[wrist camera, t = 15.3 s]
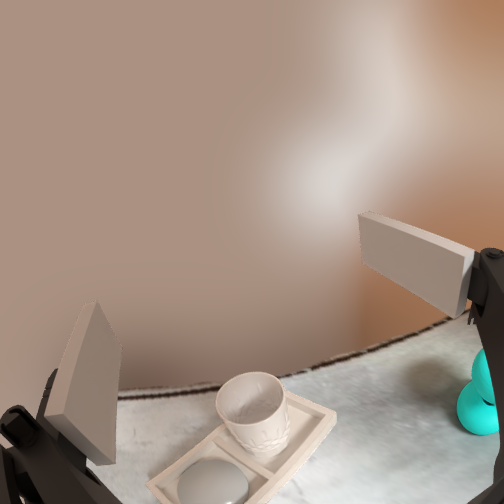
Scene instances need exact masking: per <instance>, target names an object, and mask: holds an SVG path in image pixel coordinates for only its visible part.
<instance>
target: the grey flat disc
mask: <svg viewBox="0 0 504 504" xmlns="http://www.w3.org/2000/svg"><path fill="white" fill-rule="evenodd" d="M177 494H178V498H179V500H180V502H181V504H244V503H245V502H246V501H247V499H248V496H249V483H248V480H247V478H246V476H245V475H244V473H243V472H242V471H241V470H240V469H239V468H238V467H237V466H236V465H234V464H232V463H230V462H227V461H224V460H206V461H202V462H199V463H196V464H194V465H193V466H191V467H190V468H188V469H187V470H186V471H185V472H184V473H183V475H182V476H181V478H180V480H179V482H178V486H177Z"/></svg>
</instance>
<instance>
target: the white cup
mask: <svg viewBox="0 0 504 504" xmlns="http://www.w3.org/2000/svg"><path fill="white" fill-rule="evenodd" d="M215 408H216V411H217V413H218V414H219V416H220V417H221V419H222V420H223V422H224V423H225V425H226V426H227V428H228V429H229V430H230V432H231V433H232V435H233V436H234V437H235V439H236V440H237V441H238V442H239V443H240V444H241V445H242V446H243V448H244V449H245V451H246V452H247V453H249V454H251V455H253V456H255V457H267V458H268V457H271V456H274V455H277V454H279V453H280V452H281V451H283V450H284V449H285V448H286V447H287V446H288V443H289V441H290V438H291V434H290V421H289V413H288V406H287V400H286V394H285V389H284V386H283V384H282V383H281V381H280V380H279V379H278V378H276V377H275V376H273V375H271V374H268V373H264V372H249V373H244V374H240V375H238V376H235V377H234V378H232V379H230V380H229V381H227V382H226V383H225V384H224V385H223V386H222V387H221V388H220V389H219V391H218V393H217V395H216V398H215Z"/></svg>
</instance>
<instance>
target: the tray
mask: <svg viewBox="0 0 504 504" xmlns="http://www.w3.org/2000/svg"><path fill="white" fill-rule="evenodd" d="M285 394H286V400H287V406H288V413H289V421H290V434H291V438H290V441H289V443H288V446H287V447H286V448H285V449H284V450H283V451H281V452H280V453H279V454H277V455H274V456H271V457H268V458H267V457H255V456H253V455H251V454H249V453H247V452H246V451H245V449H244V448H243V446H242V445H241V444H240V443H239V442H238V441H237V440H236V439H235V437H234V436H233V435H232V433H231V432H230V430H229V429H228V428H227V426H226V425H225V423H224V422H223V423H222V424H221V425H219V426H218V427H217V428H216V429H215V430H214V431H212V432H211V433H210V434H209V435H208V436H207V437H205V438H204V439H203V440H202V441H201V442H199V443H198V444H197V445H196V446H194V447H193V448H192V449H191V450H190V451H188V452H187V453H186V454H185V455H183V456H182V457H181V458H179V459H178V460H177V461H176V462H174V463H173V464H172V465H170V466H169V467H168V468H166V469H165V470H164V471H162V472H161V473H160V474H158V475H157V476H155V477H154V478H153V479H151V480H150V481H148V482H147V483H146V484H145V485H146V486H147V487H148V488H149V489H150V491H151V492H152V493H153V494H154V495H155V496H156V497H157V499H158V500H159V501H160V502H161V503H162V504H181V502H180V500H179V498H178V494H177V486H178V482H179V480H180V478H181V476H182V475H183V473H184V472H185V471H186V470H187V469H188V468H190V467H191V466H193V465H194V464H196V463H199V462H202V461H206V460H224V461H227V462H230V463H232V464H234V465H236V466H237V467H238V468H239V469H240V470H241V471H242V472H243V473H244V475H245V476H246V478H247V480H248V483H249V496H248V499H247V501H246V502H245V503H244V504H267V503H268V502H269V501H270V500H271V499H272V498H273V497H274V496H275V495H276V494H277V493H278V492H279V491H280V490H281V489H282V488H283V486H284V485H285V484H286V483H287V482H288V481H289V480H290V479H291V478H292V477H293V476H294V475H295V474H296V472H297V471H298V470H299V469H300V468H301V467H302V466H303V464H304V463H305V462H306V461H307V460H308V459H309V457H310V456H311V455H312V454H313V453H314V451H315V450H316V449H317V448H318V446H319V445H320V444H321V443H322V441H323V440H324V439H325V437H326V436H327V435H328V434H329V432H330V431H331V430H332V428H333V427H334V426H335V424H336V412H335V411H333V410H330V409H328V408H325V407H323V406H321V405H318V404H316V403H314V402H311V401H309V400H307V399H304V398H302V397H300V396H298V395H295V394H293V393H291V392H289V391H287V390H285Z"/></svg>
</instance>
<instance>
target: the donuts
mask: <svg viewBox="0 0 504 504" xmlns="http://www.w3.org/2000/svg"><path fill="white" fill-rule="evenodd" d="M482 398H483V399H484V400H486V401H487V402H489V403H491V404H494V406H489V405H487V404H485V403H484V402H483V400H482ZM457 414H458V418H459V420H460V422H461V424H462V425H463V426H464V427H465V428H466V429H467V430H468V431H470V432H472V433H474V434H477V435H489V434H493V433H495V432H497V431H499V424H498V417H497V410H496V403H495V397H494V392H493V387H492V382H491V377H490V373H489V368H488V364H487V360H486V356H485V353H484V349H481V351H480V352H479V353H478V354H477V356H476V358H475V360H474V362H473V366H472V381H470V382H469V383H468V384H467V385H466V386H465V387H464V388H463V390H462V391H461V393H460V395H459V398H458V401H457Z"/></svg>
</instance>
